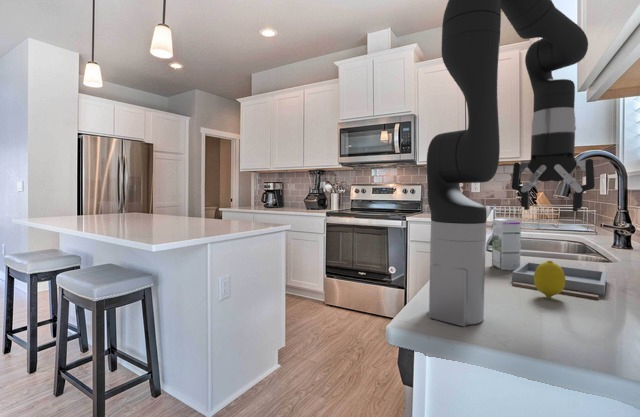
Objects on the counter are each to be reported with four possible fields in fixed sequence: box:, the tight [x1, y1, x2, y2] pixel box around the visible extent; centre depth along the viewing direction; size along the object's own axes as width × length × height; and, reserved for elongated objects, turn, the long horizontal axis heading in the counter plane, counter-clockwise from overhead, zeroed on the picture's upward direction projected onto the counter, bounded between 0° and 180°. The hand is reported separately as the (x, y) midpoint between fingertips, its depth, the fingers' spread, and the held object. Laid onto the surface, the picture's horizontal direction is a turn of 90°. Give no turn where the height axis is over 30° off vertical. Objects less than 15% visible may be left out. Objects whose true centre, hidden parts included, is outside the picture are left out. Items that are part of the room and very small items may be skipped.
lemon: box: [534, 260, 565, 299], centre depth 72 cm, size 6×6×8 cm
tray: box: [511, 261, 608, 297], centre depth 85 cm, size 16×18×2 cm
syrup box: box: [491, 217, 522, 271], centre depth 100 cm, size 6×6×14 cm
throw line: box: [511, 282, 600, 301], centre depth 77 cm, size 2×16×1 cm, turn 49°
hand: (550, 210), depth 72 cm, fingers open, 8 cm apart
